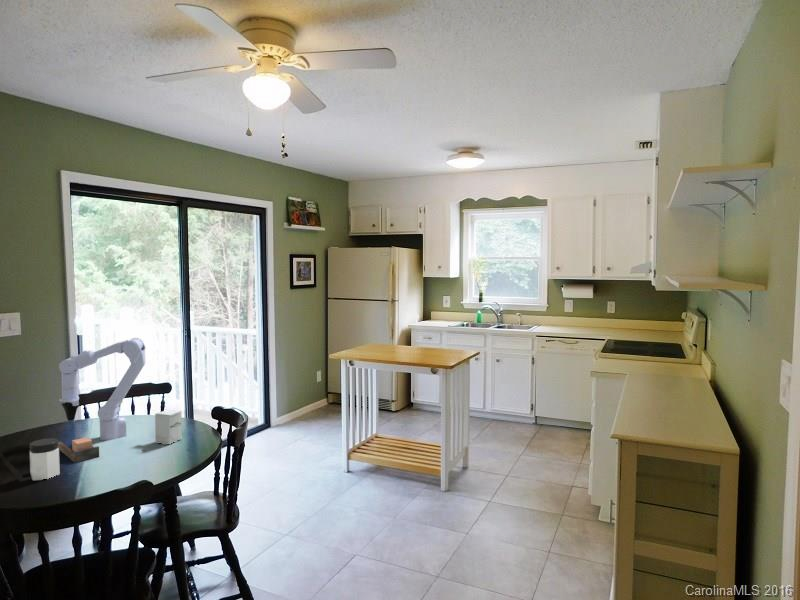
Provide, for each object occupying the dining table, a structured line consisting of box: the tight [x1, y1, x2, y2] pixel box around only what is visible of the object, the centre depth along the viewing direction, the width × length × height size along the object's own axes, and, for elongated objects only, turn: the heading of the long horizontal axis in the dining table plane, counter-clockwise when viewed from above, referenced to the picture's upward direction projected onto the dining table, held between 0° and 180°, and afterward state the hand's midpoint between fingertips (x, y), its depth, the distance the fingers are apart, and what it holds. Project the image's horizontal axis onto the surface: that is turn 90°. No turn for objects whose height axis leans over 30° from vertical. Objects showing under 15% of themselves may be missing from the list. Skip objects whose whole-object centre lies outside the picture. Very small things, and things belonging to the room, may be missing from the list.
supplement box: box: [154, 409, 183, 445], centre depth 215 cm, size 7×7×13 cm
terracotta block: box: [71, 436, 93, 451], centre depth 195 cm, size 5×6×6 cm
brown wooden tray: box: [58, 437, 102, 466], centre depth 199 cm, size 12×22×5 cm, turn 48°
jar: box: [29, 437, 61, 481], centre depth 179 cm, size 9×8×12 cm
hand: (71, 419), depth 213 cm, fingers closed
